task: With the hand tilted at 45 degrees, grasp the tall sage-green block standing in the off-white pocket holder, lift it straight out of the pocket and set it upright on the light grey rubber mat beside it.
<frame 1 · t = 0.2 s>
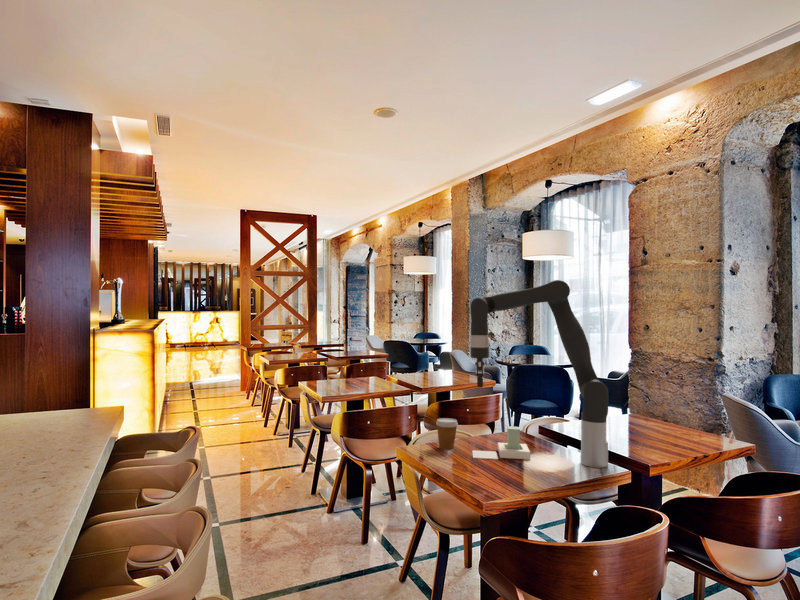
hand: (480, 385, 190), 29 cm above the table, tool pointing down, fingers open, 8 cm apart
sage block: (513, 441, 195), in the pocket holder
disposable coffee cup: (446, 448, 202), on the table
pocket holder: (513, 454, 195), on the table
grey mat: (484, 455, 192), on the table
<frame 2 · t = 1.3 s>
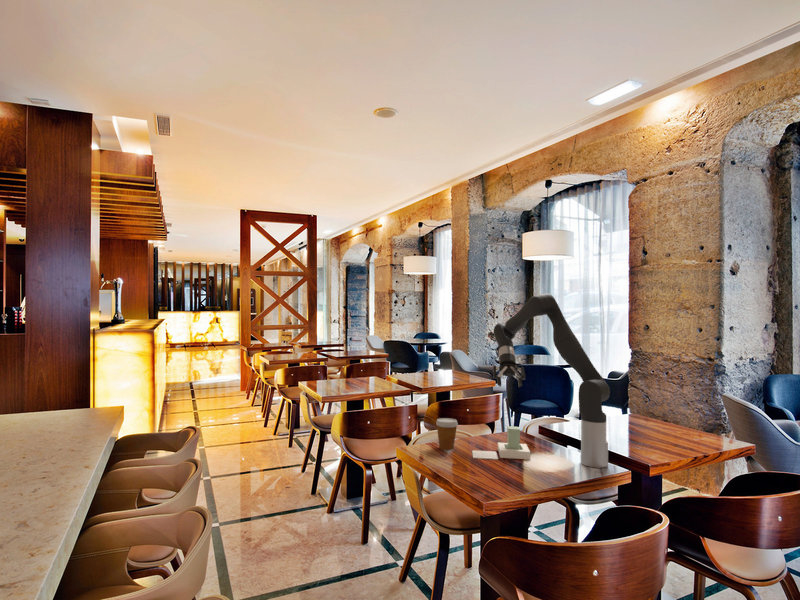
hand: (510, 386, 206), 27 cm above the table, tool tilted 45°, fingers open, 8 cm apart
nothing on the table moved.
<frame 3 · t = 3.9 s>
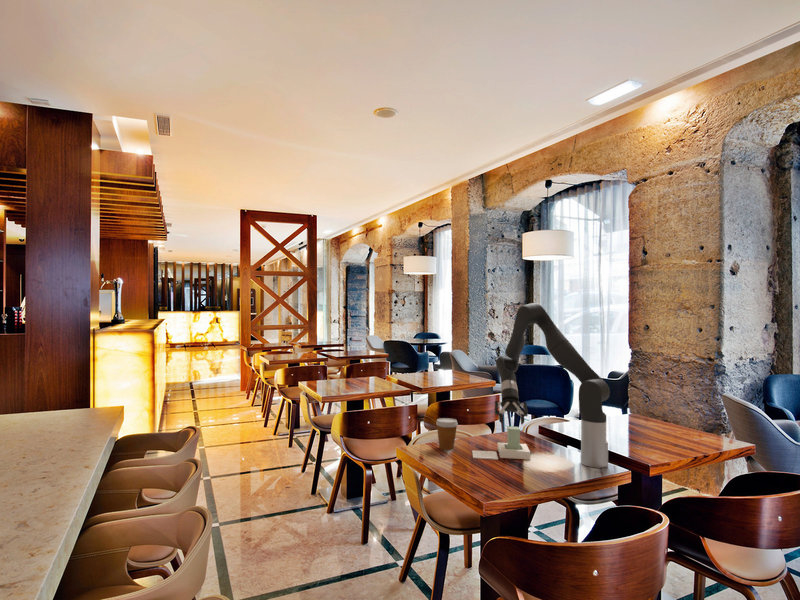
hand: (512, 423, 201), 12 cm above the table, tool tilted 45°, fingers open, 8 cm apart
nothing on the table moved.
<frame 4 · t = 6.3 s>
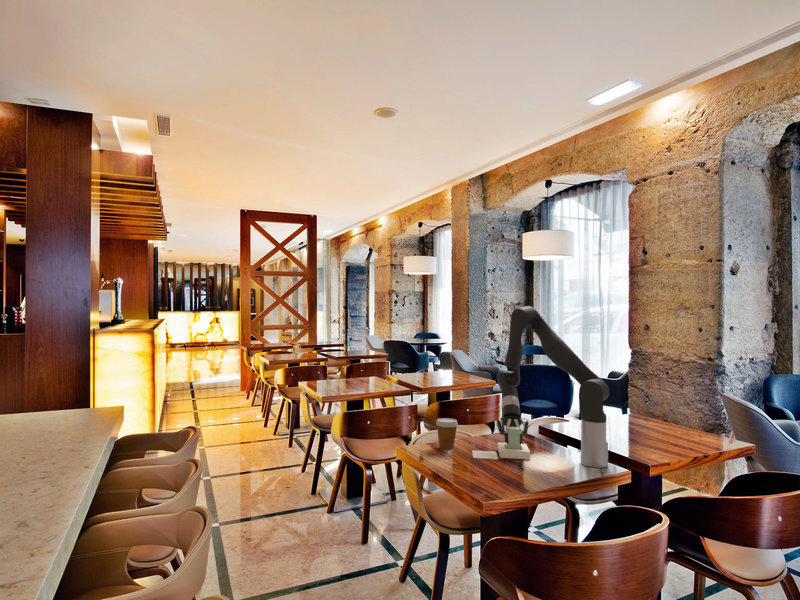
hand: (514, 443, 193), 5 cm above the table, tool tilted 45°, fingers closed on sage block, 4 cm apart
sage block: (513, 441, 195), in the pocket holder, touching gripper
everything else where it was.
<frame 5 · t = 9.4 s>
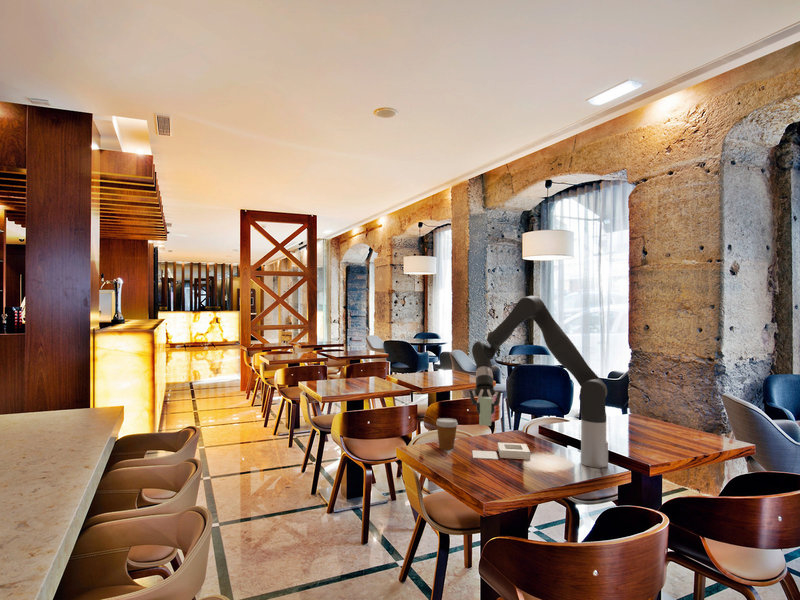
hand: (485, 412, 191), 18 cm above the table, tool tilted 45°, fingers closed on sage block, 4 cm apart
sage block: (485, 410, 193), point 18 cm above the table, touching gripper
everything else where it was.
when the fingers open (7 cm above the table, at t = 12.3 s): sage block drops 1 cm, resting on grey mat.
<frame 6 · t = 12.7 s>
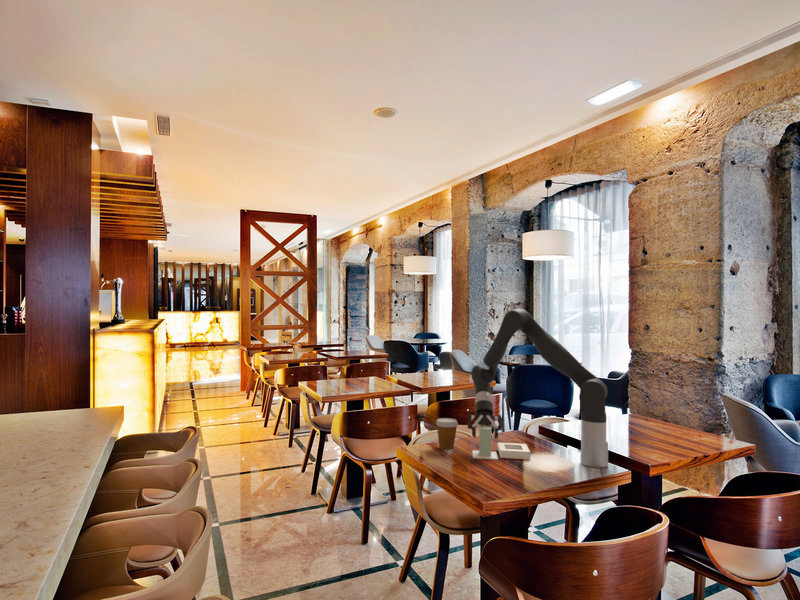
hand: (485, 437, 191), 8 cm above the table, tool tilted 45°, fingers open, 8 cm apart
sage block: (485, 440, 192), on the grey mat
everything else where it was.
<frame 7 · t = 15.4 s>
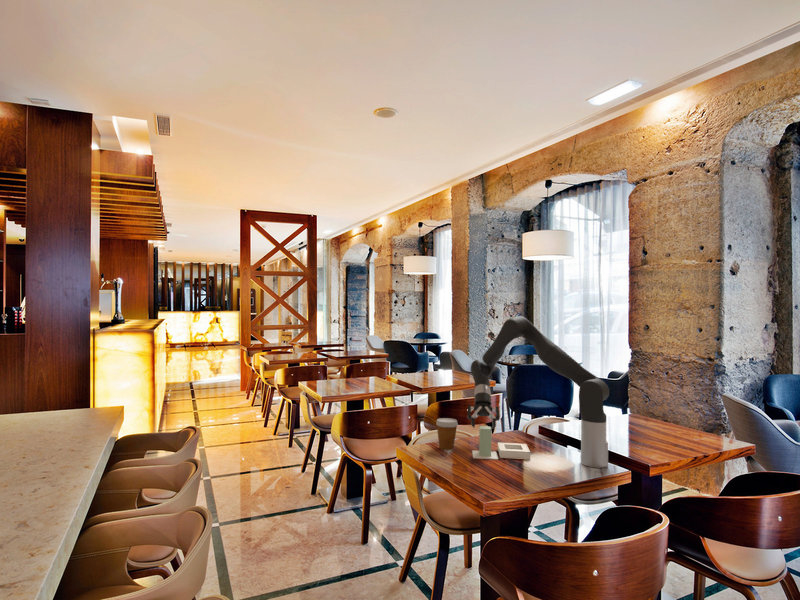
hand: (483, 427, 204), 9 cm above the table, tool tilted 45°, fingers open, 8 cm apart
nothing on the table moved.
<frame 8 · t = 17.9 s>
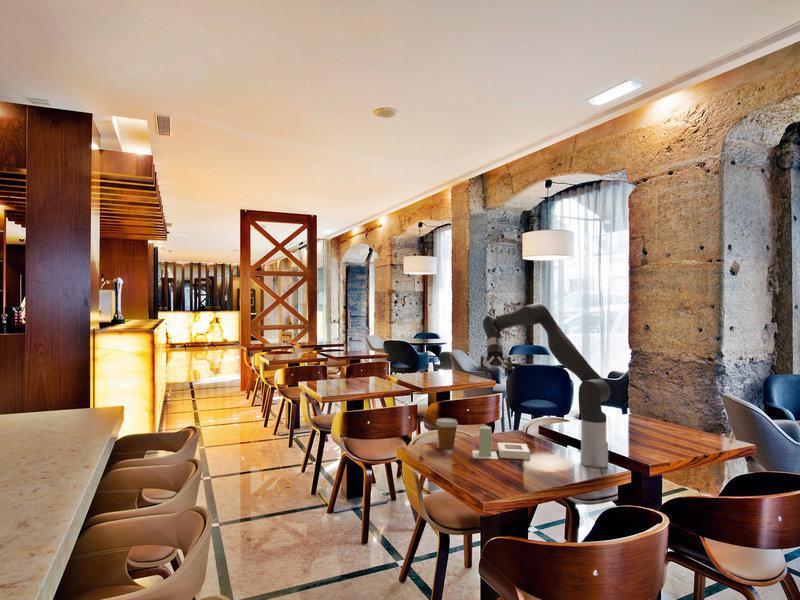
hand: (496, 375, 213), 31 cm above the table, tool tilted 45°, fingers open, 8 cm apart
nothing on the table moved.
at the end: sage block inside the target area on the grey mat (0.1 cm from its centre), point 5.9 cm above the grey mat's base; sage block tilted 0°; the gripper is holding nothing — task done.
